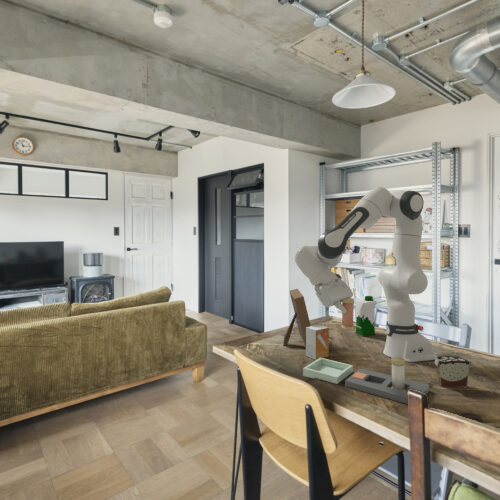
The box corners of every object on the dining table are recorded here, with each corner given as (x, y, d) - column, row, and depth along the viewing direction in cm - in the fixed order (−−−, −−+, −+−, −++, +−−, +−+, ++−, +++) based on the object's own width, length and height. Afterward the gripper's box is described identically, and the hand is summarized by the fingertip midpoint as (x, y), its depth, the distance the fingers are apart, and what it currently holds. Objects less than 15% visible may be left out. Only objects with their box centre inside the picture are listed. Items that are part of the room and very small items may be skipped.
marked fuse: (351, 327, 132) (352, 297, 132) (355, 330, 128) (356, 300, 127) (339, 327, 132) (340, 297, 131) (343, 330, 128) (343, 300, 127)
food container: (460, 379, 130) (460, 353, 129) (471, 387, 124) (471, 359, 123) (427, 380, 130) (427, 353, 129) (436, 388, 123) (437, 360, 123)
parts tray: (303, 375, 135) (303, 368, 135) (320, 364, 146) (320, 357, 146) (337, 385, 126) (337, 377, 126) (352, 372, 137) (352, 365, 137)
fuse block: (345, 387, 125) (345, 380, 124) (360, 374, 135) (360, 367, 135) (418, 408, 110) (418, 400, 109) (428, 392, 120) (429, 384, 120)
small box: (315, 360, 151) (315, 330, 150) (305, 356, 156) (305, 327, 156) (329, 356, 155) (329, 327, 155) (318, 352, 161) (318, 324, 160)
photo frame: (308, 335, 187) (308, 288, 185) (315, 349, 165) (315, 296, 163) (280, 335, 187) (279, 288, 185) (284, 349, 165) (283, 296, 163)
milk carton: (377, 335, 185) (377, 297, 183) (362, 337, 182) (363, 298, 181) (367, 331, 193) (367, 294, 192) (352, 332, 190) (353, 295, 189)
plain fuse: (402, 388, 122) (402, 357, 121) (407, 394, 118) (407, 361, 117) (389, 388, 122) (389, 357, 122) (394, 394, 118) (393, 362, 117)
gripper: (317, 279, 125) (343, 311, 120) (341, 274, 141) (365, 301, 136) (306, 291, 128) (331, 322, 123) (331, 284, 144) (353, 311, 139)
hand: (349, 311), depth 129 cm, fingers closed on marked fuse, 4 cm apart
